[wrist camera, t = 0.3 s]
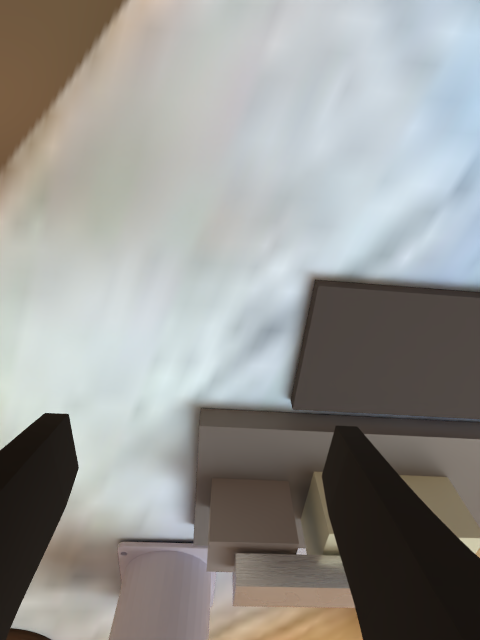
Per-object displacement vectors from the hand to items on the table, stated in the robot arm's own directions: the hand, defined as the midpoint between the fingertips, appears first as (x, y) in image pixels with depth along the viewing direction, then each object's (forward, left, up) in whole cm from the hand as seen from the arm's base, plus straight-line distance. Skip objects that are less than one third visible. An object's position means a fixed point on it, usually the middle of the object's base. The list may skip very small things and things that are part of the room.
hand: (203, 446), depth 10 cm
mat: (-3, -12, -10) cm, 15 cm away
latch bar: (-14, -5, -4) cm, 15 cm away
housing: (-14, -11, -10) cm, 20 cm away
